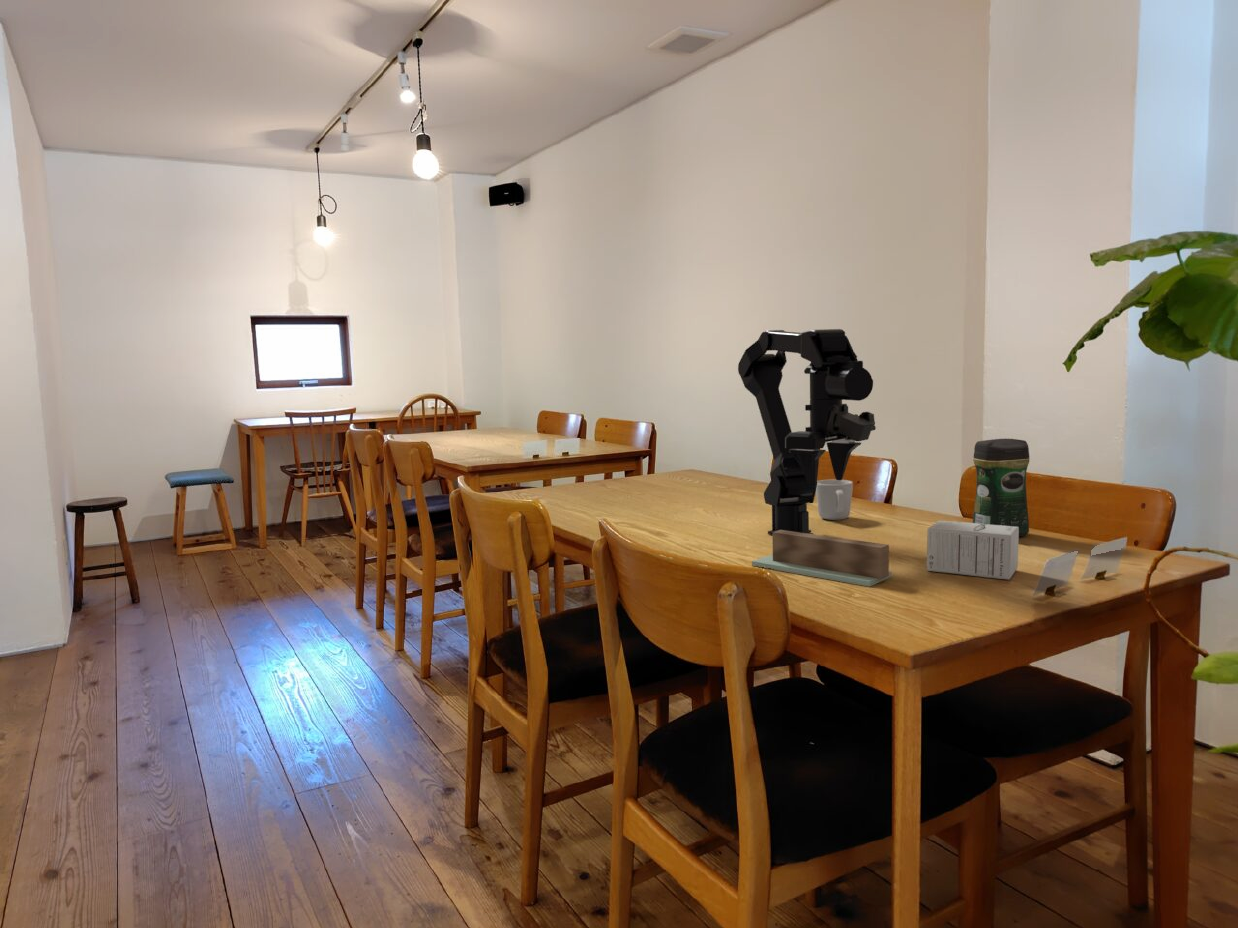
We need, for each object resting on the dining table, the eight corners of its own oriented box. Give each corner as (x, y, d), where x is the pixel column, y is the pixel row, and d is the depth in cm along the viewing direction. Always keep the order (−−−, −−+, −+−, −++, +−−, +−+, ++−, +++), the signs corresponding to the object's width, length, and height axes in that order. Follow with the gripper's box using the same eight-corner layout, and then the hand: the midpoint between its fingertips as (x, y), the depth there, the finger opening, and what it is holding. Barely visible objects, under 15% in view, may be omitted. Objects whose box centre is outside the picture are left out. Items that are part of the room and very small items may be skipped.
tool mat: (751, 565, 144) (751, 561, 144) (774, 557, 149) (774, 553, 149) (869, 586, 129) (869, 581, 129) (890, 577, 134) (890, 572, 134)
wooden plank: (772, 560, 144) (772, 532, 143) (780, 557, 146) (780, 529, 145) (881, 579, 130) (881, 547, 129) (888, 575, 132) (888, 544, 131)
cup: (860, 523, 176) (861, 486, 175) (822, 524, 176) (822, 487, 175) (847, 514, 186) (847, 478, 185) (811, 515, 187) (811, 479, 186)
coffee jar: (1009, 528, 166) (1011, 435, 163) (1035, 537, 158) (1038, 439, 156) (964, 532, 164) (966, 438, 162) (989, 540, 156) (991, 442, 154)
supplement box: (937, 519, 141) (1019, 525, 134) (936, 562, 142) (1018, 570, 135) (926, 526, 135) (1012, 534, 128) (925, 571, 136) (1010, 581, 129)
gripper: (839, 402, 140) (839, 494, 142) (891, 396, 153) (891, 480, 155) (782, 401, 148) (783, 488, 150) (837, 395, 161) (837, 476, 163)
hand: (826, 483), depth 154 cm, fingers open, 9 cm apart
